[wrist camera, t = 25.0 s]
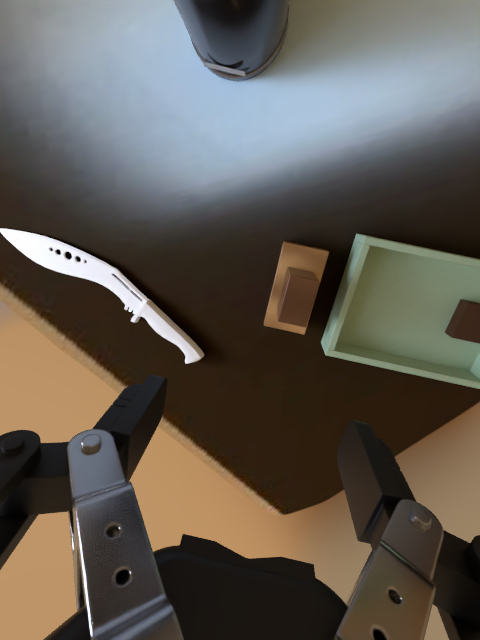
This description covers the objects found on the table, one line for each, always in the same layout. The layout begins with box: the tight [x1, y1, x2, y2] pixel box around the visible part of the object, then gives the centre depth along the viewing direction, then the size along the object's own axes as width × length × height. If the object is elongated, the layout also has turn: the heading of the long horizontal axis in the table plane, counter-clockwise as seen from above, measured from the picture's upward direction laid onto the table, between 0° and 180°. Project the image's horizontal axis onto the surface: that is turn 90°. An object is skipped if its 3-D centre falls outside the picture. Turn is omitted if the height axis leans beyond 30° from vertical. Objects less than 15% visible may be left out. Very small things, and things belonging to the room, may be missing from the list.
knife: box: [0, 228, 204, 364], centre depth 39 cm, size 30×2×8 cm
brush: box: [264, 241, 329, 334], centre depth 34 cm, size 10×5×8 cm, turn 169°
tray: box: [321, 234, 480, 389], centre depth 35 cm, size 14×20×4 cm
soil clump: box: [445, 299, 480, 344], centre depth 35 cm, size 4×4×2 cm
